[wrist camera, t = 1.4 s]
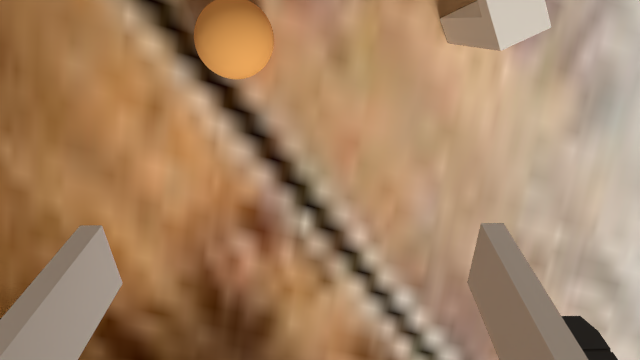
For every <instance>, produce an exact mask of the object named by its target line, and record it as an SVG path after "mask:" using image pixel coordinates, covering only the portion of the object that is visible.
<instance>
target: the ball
mask: <svg viewBox="0 0 640 360" xmlns="http://www.w3.org/2000/svg"><path fill="white" fill-rule="evenodd" d="M194 42H195V47H196V50H197V52H198V54H199V56H200V58H201V60H202V61H203V62H204V64H205V65H206V66H207V67H208V68H209V69H210V70H212V71H213V72H214V73H216V74H218V75H220V76H222V77H225V78H229V79H244V78H248V77H250V76H253V75H255V74H256V73H258V72H259V71H261V70H262V69H263V68H264V67H265V65H266V64H267V63H268V61H269V59H270V57H271V54H272V51H273V45H274V36H273V30H272V27H271V24H270V22H269V20H268V18H267V16H266V15H265V14H264V12H263V11H262V10H261V9H260V8H259V7H258V6H257V5H255V4H254V3H252V2H251V1H248V0H214V1H213V2H211V3H209V4H208V5H207V6H206V7H205V8H204V9H203V10H202V12H201V13H200V15H199V17H198V19H197V21H196V24H195V29H194Z"/></svg>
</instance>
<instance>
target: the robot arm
mask: <svg viewBox="0 0 640 360" xmlns="http://www.w3.org/2000/svg"><path fill="white" fill-rule="evenodd" d="M122 284H123V283H122V280H121V278H120V275H119V272H118V269H117V266H116V264H115V261H114V258H113V255H112V252H111V250H110V247H109V244H108V241H107V238H106V236H105V233H104V230H103V227H102V226H79V228H78V229H77V230H76V231H75V232H74V234H73V235H72V236H71V237H70V238H69V239H68V241H67V242H66V243H65V244H64V245H63V246H62V248H61V249H60V250H59V251H58V252H57V254H56V255H55V256H54V257H53V258H52V259H51V261H50V262H49V263H48V264H47V265H46V266H45V268H44V269H43V270H42V271H41V272H40V274H39V275H38V276H37V277H36V278H35V279H34V281H33V282H32V283H31V284H30V285H29V286H28V288H27V289H26V290H25V291H24V292H23V294H22V295H21V296H20V297H19V298H18V299H17V301H16V302H15V303H14V304H13V305H12V306H11V308H10V309H9V310H8V311H7V312H6V314H5V315H4V316H3V317H2V318H0V360H78V359H79V357H80V355H81V353H82V352H83V350H84V348H85V347H86V345H87V343H88V342H89V340H90V338H91V336H92V335H93V333H94V331H95V330H96V328H97V326H98V324H99V323H100V321H101V319H102V318H103V316H104V314H105V313H106V311H107V309H108V307H109V306H110V304H111V302H112V301H113V299H114V297H115V295H116V294H117V292H118V290H119V289H120V287H121V285H122ZM468 285H469V287H470V290H471V292H472V294H473V297H474V299H475V302H476V304H477V307H478V309H479V312H480V314H481V316H482V319H483V321H484V324H485V326H486V329H487V331H488V333H489V336H490V338H491V341H492V343H493V346H494V348H495V350H496V353H497V355H498V358H499V360H618V359H617V358H616V356H615V355H614V353H613V352H611V351H610V348H609V346H608V345H607V343H606V342H605V340H604V339H603V337H602V336H601V335H600V333H599V332H598V331H597V330H596V329H595V328H594V327H593V326H591V325H590V324H589V323H588V322H587V321H585V320H584V319H583V318H582V317H581V316H561V315H560V313H559V312H558V310H557V308H556V307H555V305H554V304H553V302H552V300H551V299H550V297H549V296H548V294H547V292H546V291H545V289H544V288H543V286H542V284H541V283H540V281H539V280H538V278H537V276H536V275H535V273H534V271H533V270H532V268H531V267H530V265H529V263H528V262H527V260H526V259H525V257H524V255H523V254H522V252H521V251H520V249H519V247H518V246H517V244H516V243H515V241H514V239H513V238H512V236H511V235H510V233H509V231H508V230H507V228H506V226H505V225H504V223H481V225H480V230H479V234H478V238H477V243H476V247H475V251H474V256H473V260H472V265H471V269H470V273H469V278H468Z"/></svg>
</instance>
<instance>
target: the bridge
mask: <svg viewBox="0 0 640 360" xmlns="http://www.w3.org/2000/svg"><path fill="white" fill-rule="evenodd" d="M440 21H441V24H442V27H443V30H444V33H445V36H446V39H447V42H448V43H449V44H456V45H463V46H470V47H477V48H484V49H491V50H498V51H501V50H504V49H506V48H508V47H510V46H512V45H514V44H517V43H519V42H521V41H523V40H525V39H527V38H529V37H532V36H534V35H536V34H538V33H540V32H542V31H544V30H547V29H549V28H551V24H550V20H549V16H548V11H547V7H546V3H545V0H477V1H475V2H473V3H471V4H469V5H467V6H465V7H463V8H461V9H459V10H456V11H454V12H452V13H450V14H448V15H446V16H444V17H442V18H440Z"/></svg>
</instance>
